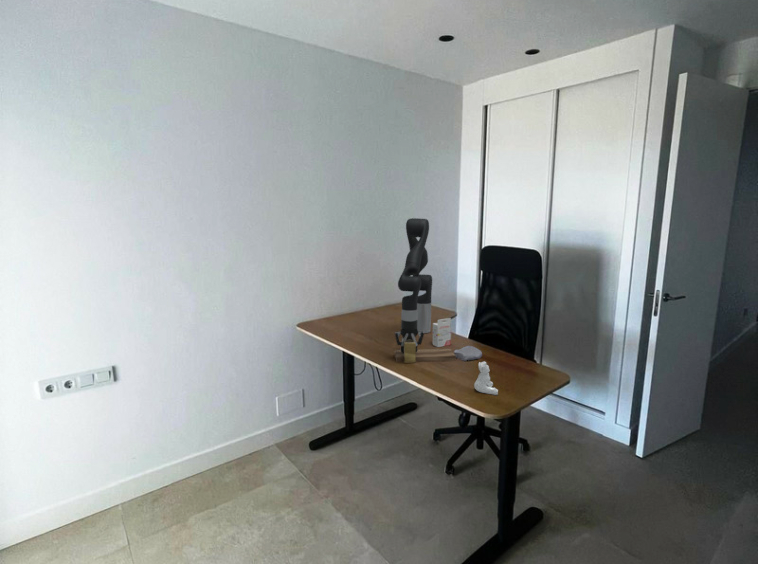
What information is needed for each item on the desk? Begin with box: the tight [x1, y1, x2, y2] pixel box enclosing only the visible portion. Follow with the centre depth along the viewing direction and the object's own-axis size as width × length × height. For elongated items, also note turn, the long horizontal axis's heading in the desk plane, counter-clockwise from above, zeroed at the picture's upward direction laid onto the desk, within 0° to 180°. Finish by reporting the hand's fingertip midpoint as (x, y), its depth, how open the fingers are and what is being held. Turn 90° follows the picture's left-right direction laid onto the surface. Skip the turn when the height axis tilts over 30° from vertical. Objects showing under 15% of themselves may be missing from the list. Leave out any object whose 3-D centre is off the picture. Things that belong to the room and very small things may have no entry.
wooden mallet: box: [403, 339, 416, 364], centre depth 203 cm, size 15×5×9 cm, turn 4°
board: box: [394, 348, 457, 363], centre depth 203 cm, size 10×28×2 cm, turn 94°
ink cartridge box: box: [432, 317, 452, 348], centre depth 221 cm, size 9×5×15 cm, turn 115°
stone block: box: [453, 345, 483, 362], centre depth 204 cm, size 12×5×10 cm
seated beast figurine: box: [473, 360, 499, 396], centre depth 167 cm, size 10×9×12 cm
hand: (408, 352), depth 200 cm, fingers closed on wooden mallet, 5 cm apart
